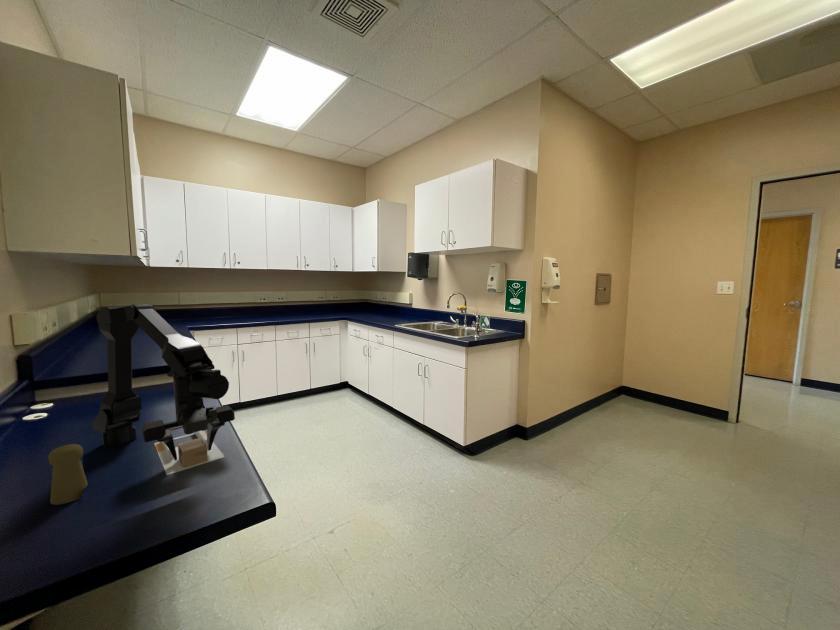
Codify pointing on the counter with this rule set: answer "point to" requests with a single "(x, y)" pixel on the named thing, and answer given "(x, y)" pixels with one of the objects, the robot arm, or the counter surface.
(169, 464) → the white mounting bracket
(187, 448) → the walnut block
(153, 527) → the counter surface
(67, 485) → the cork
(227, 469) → the counter surface
